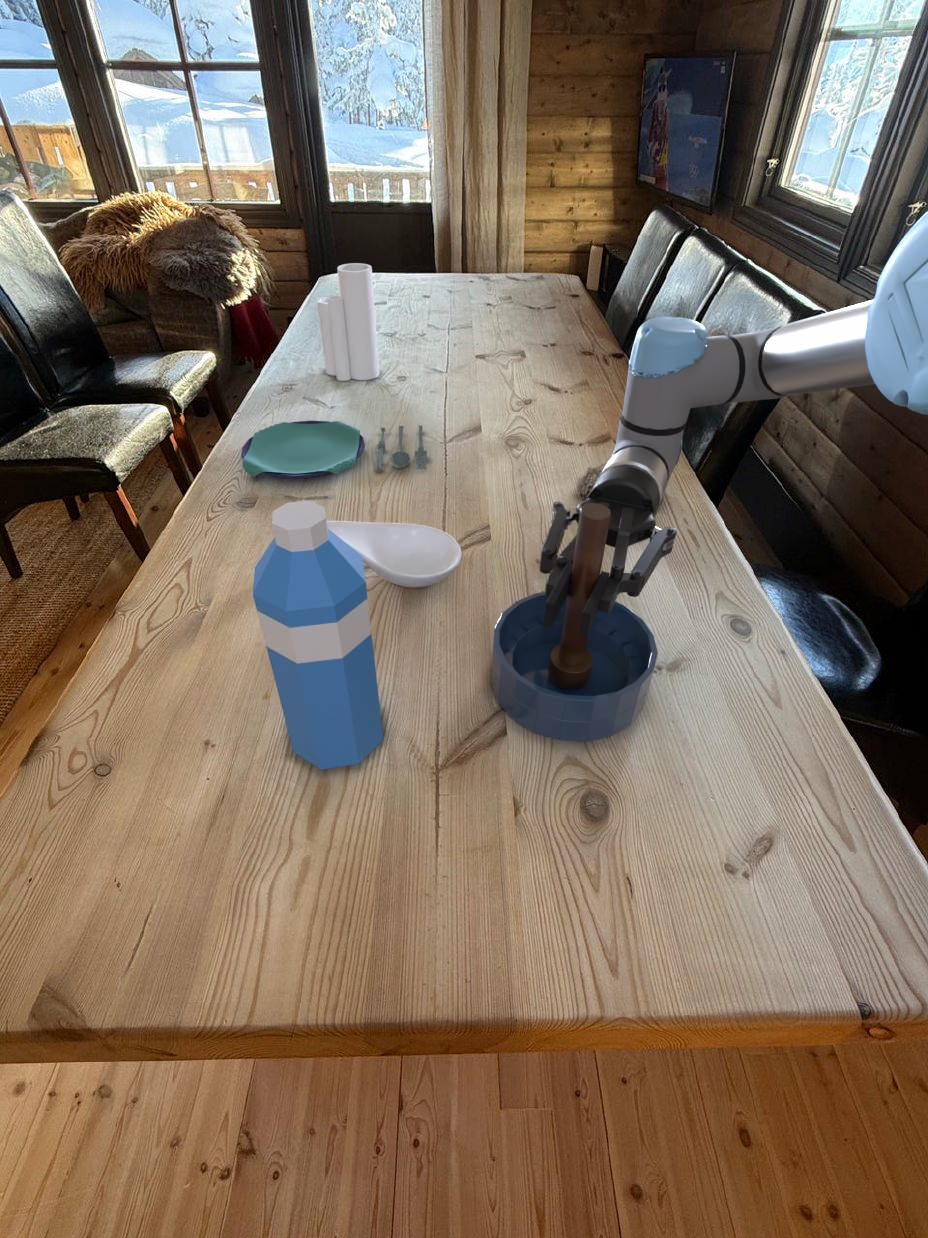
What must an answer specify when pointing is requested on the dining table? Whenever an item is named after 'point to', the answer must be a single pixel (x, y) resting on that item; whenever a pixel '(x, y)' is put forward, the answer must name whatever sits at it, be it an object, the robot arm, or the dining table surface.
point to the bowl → (572, 713)
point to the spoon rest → (402, 550)
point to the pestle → (580, 599)
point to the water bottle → (319, 638)
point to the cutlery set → (315, 449)
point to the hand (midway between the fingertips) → (566, 620)
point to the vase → (350, 325)
